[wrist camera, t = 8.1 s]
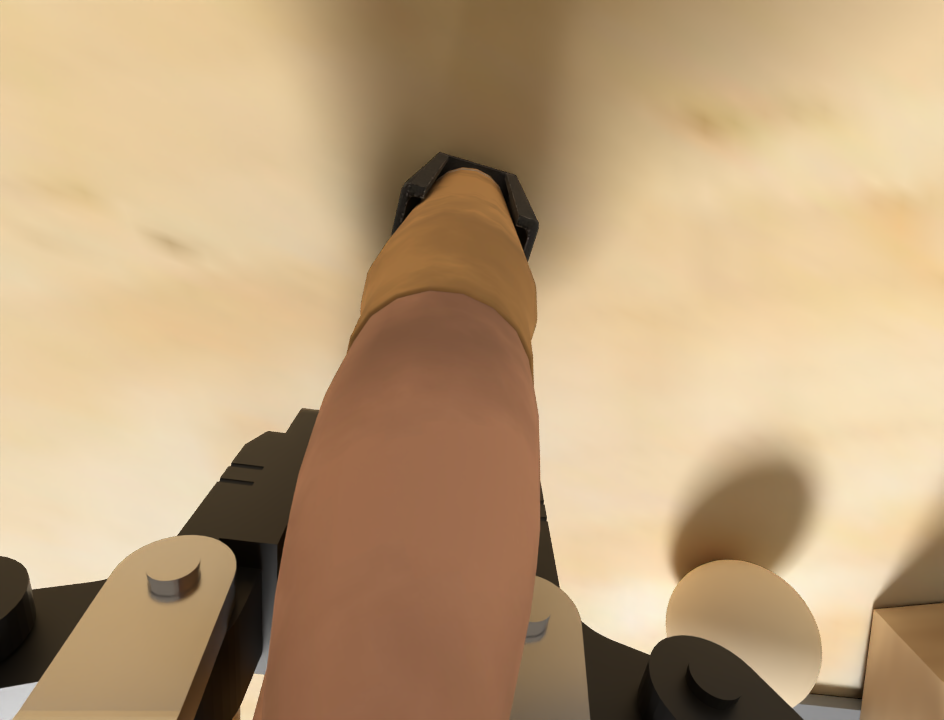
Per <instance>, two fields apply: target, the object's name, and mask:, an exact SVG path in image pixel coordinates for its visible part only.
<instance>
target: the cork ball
mask: <svg viewBox="0 0 944 720" xmlns="http://www.w3.org/2000/svg"><path fill="white" fill-rule="evenodd" d="M666 633H667V638H668V637H671V636H677V635H688V636H695V637H700V638H703V639H706V640H709V641H712V642H714V643H716V644H718V645H720V646H722V647H724V648H726V649H727V650H729V651H731V652H732V653H734V654H735V655H736V656H738V657H739V658H740V659H742V660H743V661H744V662H745V663H746V664H747V665H748V666H750V667H751V668H752V669H753V670H754V671H755V672H756V673H757V674H758V675H759V676H760V677H761V678H762V679H763V680H764V681H765V682H766V683H767V684H768V685H769V686H770V687H771V688H772V689H773V690H774V691H775V692H776V693H777V694H778V695H779V696H780V697H781V698H782V699H783V700H784V701H785V702H786V703H787V704H788V705H789V706H791V707H792V708H793V707H795V706H796V705H797V704H799V703H800V702H801V701H802V700H804V699H805V698H806V696H807V695H808V694H809V693H810V691H811V690H812V688H813V687H814V685H815V683H816V681H817V678H818V675H819V672H820V668H821V661H822V646H821V638H820V634H819V630H818V627H817V624H816V622H815V619H814V617H813V615H812V613H811V611H810V610H809V608H808V606H807V605H806V603H805V601H804V600H803V599H802V598H801V597H800V595H799V594H798V593H797V592H796V591H795V589H794V588H792V587H791V586H790V585H789V584H788V583H787V582H786V581H785V580H783V579H782V578H781V577H779V576H778V575H776V574H775V573H773V572H771V571H770V570H767V569H765V568H763V567H761V566H759V565H756V564H753V563H749V562H746V561H740V560H718V561H713V562H709V563H706V564H703V565H701V566H699V567H697V568H695V569H693V570H692V571H690V572H689V573H688V574H687V575H686V576H685V577H683V579H682V580H681V581H680V582H679V583H678V584H677V586H676V588H675V589H674V591H673V593H672V595H671V598H670V600H669V603H668V607H667V612H666Z"/></svg>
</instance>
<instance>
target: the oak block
mask: <svg viewBox="0 0 944 720" xmlns="http://www.w3.org/2000/svg"><path fill="white" fill-rule="evenodd" d="M860 720H944V603H938V604H927V605H916V606H905V607H895V608H884V609H874V612H873V620H872V628H871V636H870V643H869V651H868V659H867V667H866V674H865V682H864V690H863V697H862V705H861V713H860Z"/></svg>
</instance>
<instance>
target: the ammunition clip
mask: <svg viewBox="0 0 944 720" xmlns="http://www.w3.org/2000/svg"><path fill="white" fill-rule="evenodd" d="M538 229H539V222H538V220H537V218H536V216H535V214H534V212H533V210H532V208H531V206H530V204H529V201H528V199H527V197H526V195H525V193H524V191H523V189H522V187H521V185H520V183H519V181H518V178H517V176H516V175H514V174H510V173H507V172H504V171H500V170H497V169H494V168H490V167H487V166H484V165H481V164H477V163H474V162H471V161H467V160H464V159H461V158H457V157H454V156H451V155H447V154H444V153H441V152H439V153H438V154H437V155H436V156H435V157H434V158H433V159H431V160H430V161H429V162H428V163H427V164H426V165H425V166H424V167H422V168H421V169H420V170H419V171H418V172H417V173H416V174H415V175H413V176H412V177H411V178H410V179H409V180H408V181H407V182H406V183H405V184H404V185H403V187H402V190H401V194H400V199H399V203H398V207H397V212H396V216H395V221H394V225H393V229H392V234H391V238H390V239H389V240H388V241H387V243H386V244H385V246H384V247H383V249H382V250H381V252H380V253H379V255H378V256H377V258H376V259H375V261H374V262H373V264H372V266H371V267H370V269H369V271H368V273H367V278H366V282H365V287H364V292H363V296H362V301H361V316H360V318H359V320H358V322H357V324H356V326H355V329H354V331H353V333H352V335H351V337H350V341H349V345H348V350H347V355H346V356H345V358H344V360H343V362H342V364H341V366H340V367H339V369H338V371H337V373H336V375H335V376H334V378H333V380H332V382H331V384H330V386H329V388H328V390H327V392H326V394H325V396H324V399H323V402H322V405H321V407H320V410H319V413H318V416H317V419H316V422H315V425H314V428H313V431H312V434H311V437H310V440H309V443H308V446H307V449H306V452H305V456H304V459H303V462H302V465H301V468H300V471H299V475H298V479H297V483H296V488H295V492H294V497H293V501H292V506H291V510H290V515H289V521H288V526H287V531H286V537H285V542H284V547H283V553H282V558H281V564H280V570H279V575H278V581H277V587H276V593H275V600H274V609H273V618H272V627H271V636H270V645H269V653H268V662H267V669H266V672H265V676H264V680H263V683H262V687H261V691H260V695H259V698H258V702H257V706H256V709H255V713H254V717H253V720H509V718H510V713H511V708H512V703H513V698H514V693H515V688H516V683H517V678H518V673H519V668H520V664H521V659H522V654H523V649H524V644H525V639H526V634H527V629H528V624H529V619H530V614H531V606H532V599H533V591H534V584H535V576H536V569H537V558H538V547H539V536H540V448H539V415H538V409H537V403H536V397H535V391H534V378H533V354H532V346H531V339H532V336H533V333H534V330H535V327H536V323H537V297H536V285H535V282H534V279H533V276H532V273H531V271H530V268H529V265H528V259H529V256H530V253H531V250H532V247H533V244H534V241H535V238H536V235H537V232H538Z"/></svg>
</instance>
